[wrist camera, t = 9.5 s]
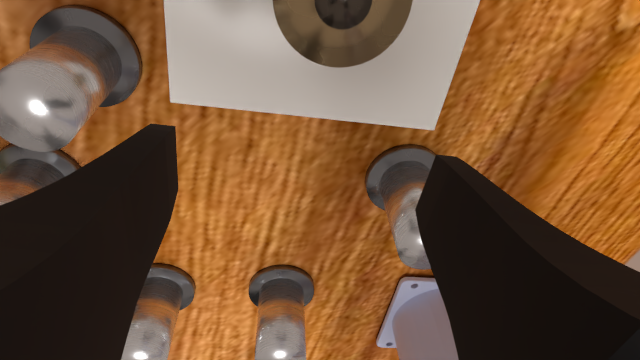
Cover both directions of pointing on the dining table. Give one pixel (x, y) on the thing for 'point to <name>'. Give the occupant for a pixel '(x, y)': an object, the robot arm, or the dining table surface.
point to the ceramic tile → (312, 64)
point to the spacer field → (53, 164)
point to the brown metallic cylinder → (341, 28)
